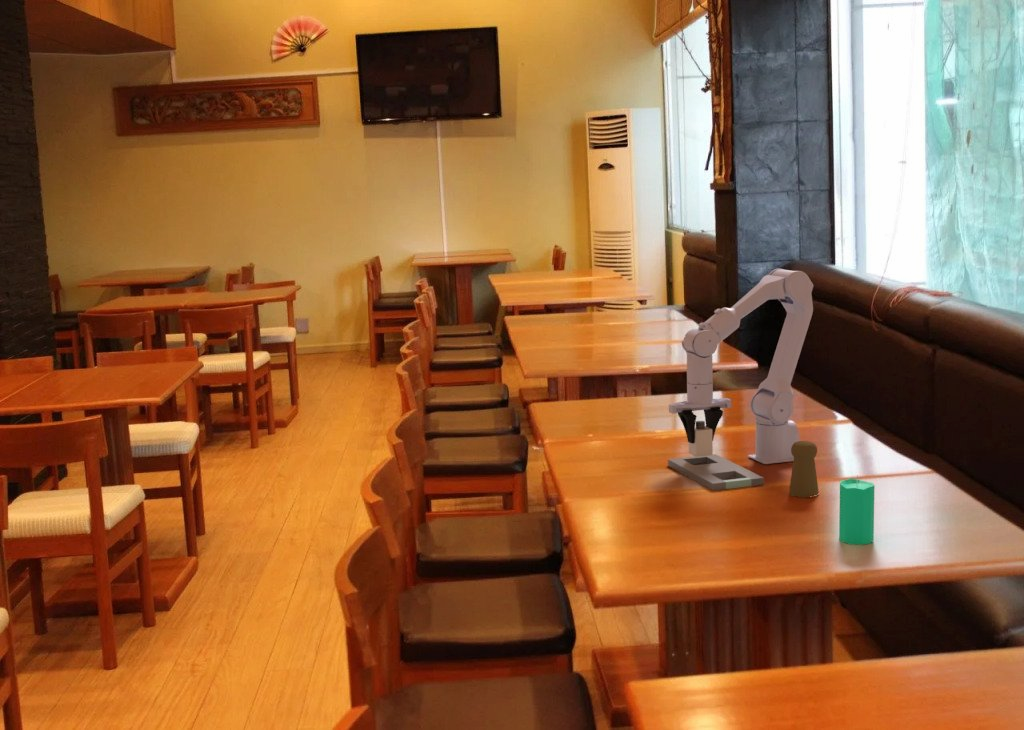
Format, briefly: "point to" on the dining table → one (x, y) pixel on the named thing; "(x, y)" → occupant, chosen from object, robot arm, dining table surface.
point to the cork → (803, 470)
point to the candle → (856, 512)
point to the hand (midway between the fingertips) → (700, 441)
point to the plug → (701, 441)
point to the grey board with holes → (715, 472)
